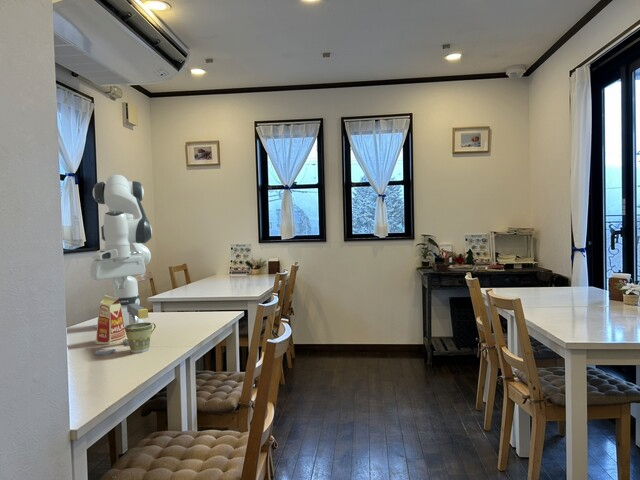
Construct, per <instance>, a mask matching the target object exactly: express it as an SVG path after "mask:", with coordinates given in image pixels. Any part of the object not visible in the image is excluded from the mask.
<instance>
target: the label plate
mask: <svg viewBox="0 0 640 480" xmlns="http://www.w3.org/2000/svg"><path fill="white" fill-rule="evenodd" d="M116 352H117V348H101V349H99V350H96V351H95V355H112V354H114V353H116Z"/></svg>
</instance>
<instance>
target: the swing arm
mask: <svg viewBox="0 0 640 480" xmlns="http://www.w3.org/2000/svg"><path fill="white" fill-rule="evenodd" d="M127 312H128V313H132V314H133V315H135V316H136V317H138V318H139V319H143V320H144V319H148V318H149V310H148V308H145V307H143V306H142V305H140V306H139V305H138V303H134V304H128V305H127Z"/></svg>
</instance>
